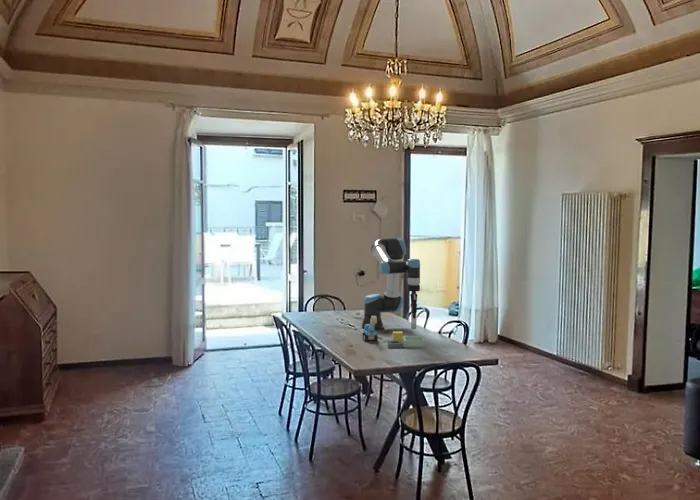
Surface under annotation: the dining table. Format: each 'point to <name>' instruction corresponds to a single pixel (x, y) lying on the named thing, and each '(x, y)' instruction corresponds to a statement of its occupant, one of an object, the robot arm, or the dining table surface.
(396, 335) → the chock
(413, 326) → the stop pin
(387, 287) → the robot arm
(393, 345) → the pin holder
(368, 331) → the toy excavator
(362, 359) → the dining table surface
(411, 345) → the tray
